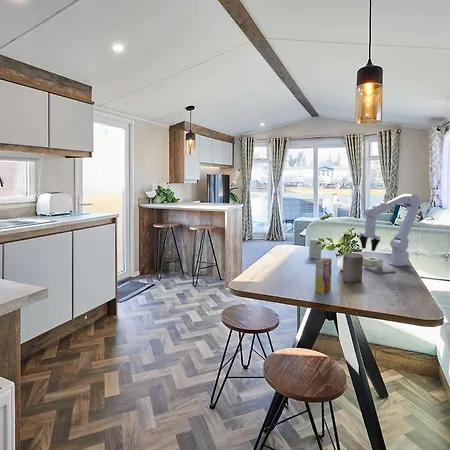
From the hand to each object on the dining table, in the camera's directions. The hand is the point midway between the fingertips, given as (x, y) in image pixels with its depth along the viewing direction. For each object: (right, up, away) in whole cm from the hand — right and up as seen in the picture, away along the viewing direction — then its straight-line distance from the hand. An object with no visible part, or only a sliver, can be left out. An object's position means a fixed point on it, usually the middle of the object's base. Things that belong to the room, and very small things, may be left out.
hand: (368, 249), depth 222 cm
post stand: (+2, -11, -12) cm, 17 cm away
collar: (+2, -10, +1) cm, 10 cm away
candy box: (-42, -16, -51) cm, 68 cm away
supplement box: (-28, -7, +18) cm, 34 cm away
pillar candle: (-22, -14, -33) cm, 42 cm away
